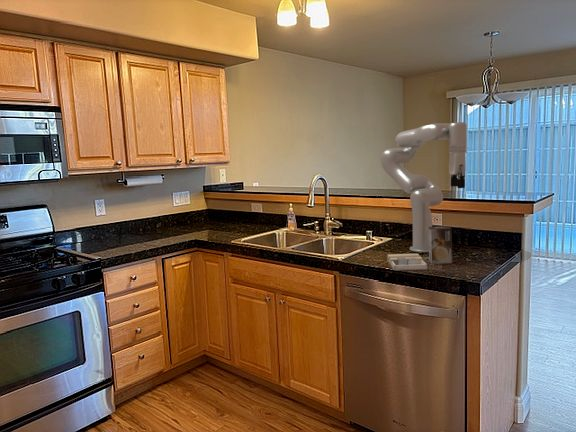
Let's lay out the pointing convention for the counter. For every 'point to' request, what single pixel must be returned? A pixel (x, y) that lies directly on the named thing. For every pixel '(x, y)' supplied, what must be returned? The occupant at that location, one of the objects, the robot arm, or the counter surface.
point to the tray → (409, 266)
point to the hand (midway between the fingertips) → (457, 187)
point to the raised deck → (394, 257)
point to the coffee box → (440, 245)
